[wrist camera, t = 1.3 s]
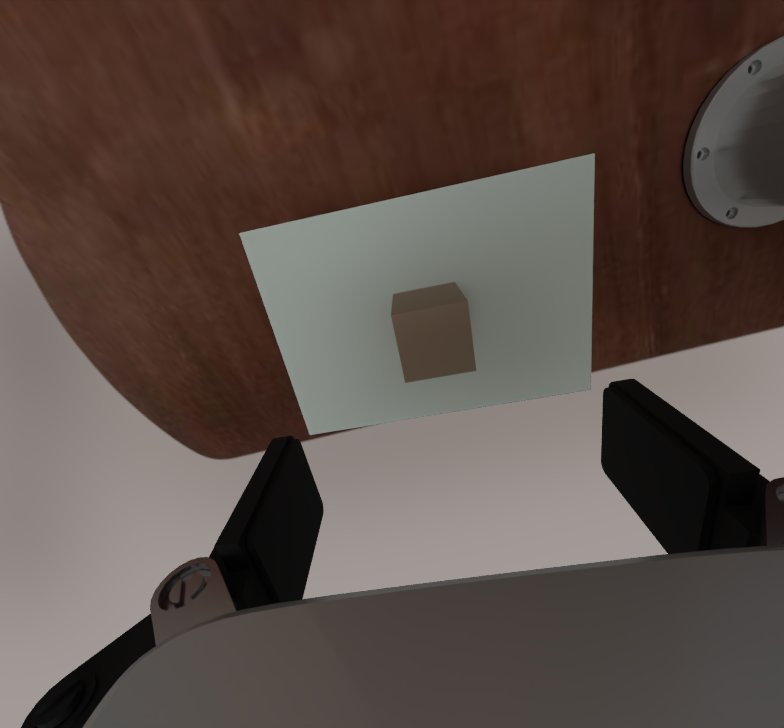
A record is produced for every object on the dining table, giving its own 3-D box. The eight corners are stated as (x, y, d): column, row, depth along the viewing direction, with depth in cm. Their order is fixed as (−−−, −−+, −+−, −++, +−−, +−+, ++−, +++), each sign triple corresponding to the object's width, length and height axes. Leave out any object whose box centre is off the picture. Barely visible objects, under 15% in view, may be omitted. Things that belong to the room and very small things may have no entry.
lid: (587, 155, 21) (652, 137, 15) (585, 384, 26) (631, 429, 21) (244, 232, 23) (196, 240, 17) (312, 429, 29) (291, 479, 23)
